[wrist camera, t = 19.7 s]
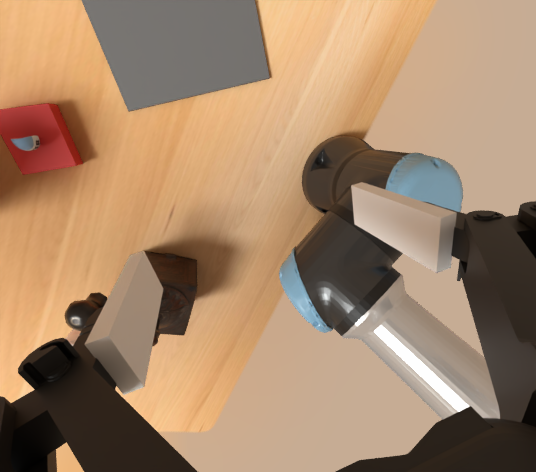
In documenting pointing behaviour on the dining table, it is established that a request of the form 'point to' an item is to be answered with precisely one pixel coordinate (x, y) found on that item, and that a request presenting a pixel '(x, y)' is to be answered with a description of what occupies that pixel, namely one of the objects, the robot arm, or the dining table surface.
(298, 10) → the dining table surface
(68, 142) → the red rectangular block
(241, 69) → the mat
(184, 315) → the coffee grinder
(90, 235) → the dining table surface
